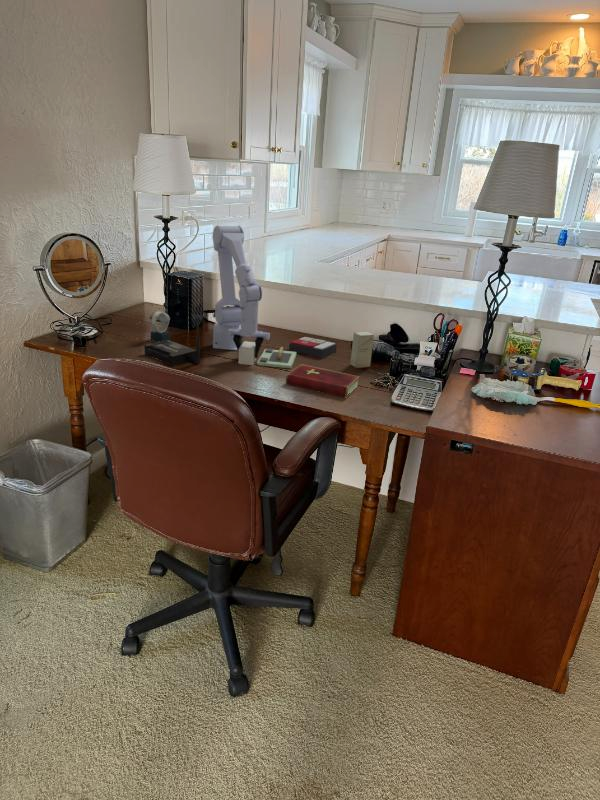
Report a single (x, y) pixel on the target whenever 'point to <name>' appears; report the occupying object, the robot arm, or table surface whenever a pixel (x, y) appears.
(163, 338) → the watch
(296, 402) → the table surface
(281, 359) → the pcb board
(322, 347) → the calculator
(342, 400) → the table surface
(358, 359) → the skincare box
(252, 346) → the block
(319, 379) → the hardcover book
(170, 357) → the grey and black stand
